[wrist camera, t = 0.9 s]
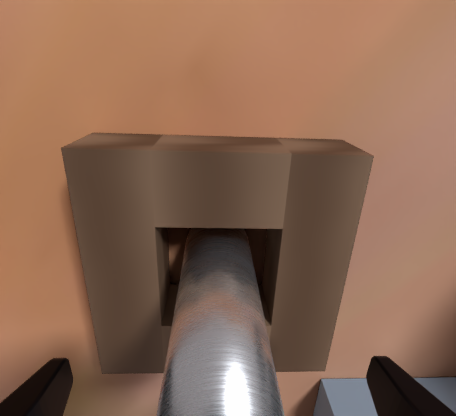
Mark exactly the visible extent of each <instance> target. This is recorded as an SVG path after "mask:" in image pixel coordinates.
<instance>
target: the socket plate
mask: <svg viewBox="0 0 456 416" xmlns="http://www.w3.org/2000/svg"><path fill="white" fill-rule="evenodd" d="M414 379H415V380H416V381H417V382H419V383H420V384H421V385H422V386H423V387H425V388H426V389H427V390H428V391H429V392H431V393H432V394H433V395H434V396H435V397H437V398H438V399H439V400H440V401H441V402H443V403H444V404H445V405H446V406H447V407H449V408H450V409H451V410H452V411H453V412H455V413H456V377H438V378H414ZM313 416H378V415H377V412H376V409H375V406H374V403H373V400H372V397H371V393H370V390H369V387H368V384H367V379H366V378H357V379H321V382H320V387H319V391H318V396H317V400H316V405H315V409H314V414H313Z"/></svg>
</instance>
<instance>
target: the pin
mask: <svg viewBox="0 0 456 416" xmlns="http://www.w3.org/2000/svg"><path fill="white" fill-rule="evenodd" d="M157 416H284V411H283V406H282V401H281V396H280V391H279V387H278V382H277V377H276V372H275V367H274V362H273V357H272V353H271V348H270V343H269V338H268V333H267V328H266V323H265V318H264V314H263V309H262V304H261V299H260V294H259V289H258V284H257V280H256V275H255V270H254V265H253V260H252V255H251V250H250V246H249V241H248V237H247V234H246V232H245V230H244V229H243V228H192V229H191V230H190V232H189V233H188V236H187V240H186V245H185V251H184V257H183V263H182V269H181V275H180V281H179V287H178V292H177V298H176V304H175V310H174V316H173V322H172V328H171V334H170V340H169V345H168V351H167V357H166V363H165V369H164V375H163V381H162V387H161V393H160V398H159V404H158V410H157Z"/></svg>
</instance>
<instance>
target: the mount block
mask: <svg viewBox="0 0 456 416" xmlns="http://www.w3.org/2000/svg"><path fill="white" fill-rule="evenodd" d="M61 150H62V156H63V161H64V167H65V172H66V178H67V183H68V189H69V194H70V200H71V205H72V211H73V216H74V222H75V227H76V233H77V238H78V244H79V249H80V255H81V260H82V266H83V271H84V277H85V282H86V288H87V293H88V299H89V304H90V310H91V315H92V321H93V326H94V332H95V337H96V343H97V348H98V354H99V359H100V365H101V370H102V374H119V373H164V369H165V363H166V357H167V351H168V345H169V340H170V334H171V328H172V322H173V316H174V310H175V304H176V298H177V292H178V287H179V285H170V270H169V249H168V228H167V227H174V228H251V229H267V238H266V249H265V259H264V269H263V280H262V285H258V289H259V294H260V299H261V304H262V309H263V314H264V318H265V323H266V328H267V333H268V338H269V343H270V348H271V353H272V357H273V362H274V367H275V372H300V371H325V369H326V364H327V360H328V356H329V351H330V347H331V342H332V338H333V334H334V329H335V325H336V320H337V316H338V312H339V307H340V303H341V298H342V294H343V290H344V285H345V281H346V276H347V272H348V268H349V263H350V259H351V254H352V250H353V246H354V241H355V237H356V232H357V228H358V224H359V219H360V215H361V210H362V206H363V202H364V197H365V193H366V188H367V184H368V180H369V175H370V171H371V166H372V162H373V158H374V156H373V155H371V154H369V153H367V152H365V151H363V150H361V149H359V148H357V147H355V146H353V145H351V144H349V143H347V142H345V141H343V140H329V139H294V138H258V137H223V136H187V135H152V134H116V133H92V134H89V135H87V136H85V137H83V138H81V139H79V140H77V141H75V142H73V143H71V144H68V145H66V146H64V147H62V148H61Z"/></svg>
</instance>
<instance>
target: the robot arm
mask: <svg viewBox="0 0 456 416" xmlns="http://www.w3.org/2000/svg"><path fill="white" fill-rule="evenodd" d="M366 379H367V384H368V387H369V390H370V393H371V397H372V400H373V403H374V406H375V409H376V412H377V415H378V416H456V413H455V412H453V411H452V410H451V409H450V408H449V407H447V406H446V405H445V404H444V403H443V402H441V401H440V400H439V399H438V398H437V397H435V396H434V395H433V394H432V393H431V392H429V391H428V390H427V389H426V388H425V387H423V386H422V385H421V384H420V383H419V382H417V381H416V380H415V379H414V378H413V377H411V376H410V375H409V374H408V373H407V372H405V371H404V370H403V369H402V368H401V367H399V366H398V365H397V364H396V363H395V362H393V361H392V360H391V359H390V358H388V357H386V356H373V357H372V359H371V362H370V365H369V368H368V371H367V375H366ZM72 383H73V376H72V372H71V367H70V363H69V360H68V359H67V358H53V359H51V360H50V361H48V362H47V363H46V364H45V365H44V366H43V367H42V368H40V369H39V370H38V371H37V372H36V373H35V374H33V375H32V376H31V377H30V378H29V379H28V380H26V381H25V382H24V383H23V384H22V385H21V386H20V387H18V388H17V389H16V390H15V391H14V392H13V393H11V394H10V395H9V396H8V397H7V398H6V399H4V400H3V401H2V402H1V403H0V416H63V413H64V410H65V407H66V404H67V400H68V397H69V394H70V391H71V388H72Z"/></svg>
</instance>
